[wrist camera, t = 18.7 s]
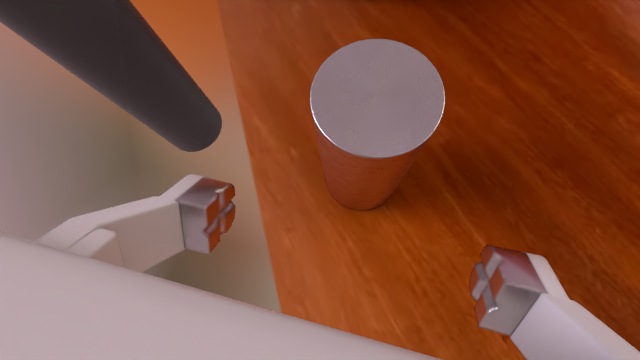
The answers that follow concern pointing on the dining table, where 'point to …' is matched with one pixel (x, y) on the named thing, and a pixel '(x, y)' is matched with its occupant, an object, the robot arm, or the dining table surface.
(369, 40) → the can
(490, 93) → the dining table surface
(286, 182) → the dining table surface
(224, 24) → the dining table surface
